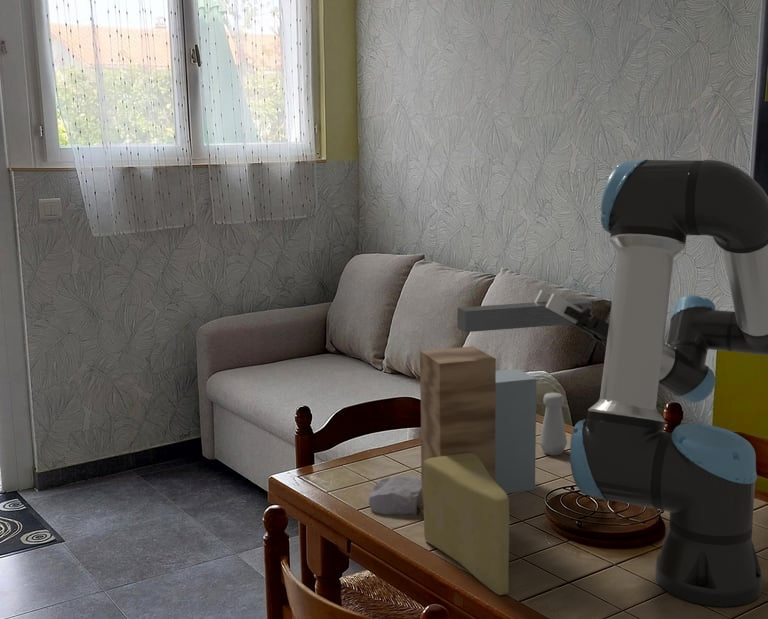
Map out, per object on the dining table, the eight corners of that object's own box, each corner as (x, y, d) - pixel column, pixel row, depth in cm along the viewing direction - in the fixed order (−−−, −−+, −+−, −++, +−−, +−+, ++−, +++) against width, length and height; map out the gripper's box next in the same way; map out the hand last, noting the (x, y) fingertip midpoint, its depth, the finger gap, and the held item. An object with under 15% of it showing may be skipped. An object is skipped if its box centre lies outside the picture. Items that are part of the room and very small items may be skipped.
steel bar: (591, 322, 160) (592, 302, 160) (465, 332, 153) (465, 311, 153) (581, 318, 164) (581, 299, 163) (457, 328, 157) (457, 307, 156)
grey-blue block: (535, 489, 174) (536, 378, 170) (467, 499, 170) (466, 385, 166) (517, 475, 182) (518, 368, 178) (451, 484, 178) (451, 375, 174)
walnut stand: (498, 527, 157) (499, 359, 152) (439, 536, 154) (437, 364, 149) (474, 503, 168) (474, 345, 162) (418, 511, 165) (416, 350, 159)
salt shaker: (570, 450, 195) (572, 392, 193) (560, 458, 191) (562, 399, 188) (545, 446, 199) (546, 388, 196) (534, 454, 194) (535, 395, 191)
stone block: (368, 523, 165) (421, 516, 163) (362, 497, 165) (415, 490, 162) (381, 500, 177) (431, 493, 174) (376, 476, 176) (426, 469, 174)
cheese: (534, 591, 135) (535, 496, 132) (474, 602, 132) (474, 505, 130) (475, 532, 156) (475, 448, 153) (422, 540, 153) (421, 455, 150)
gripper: (659, 383, 159) (556, 326, 151) (609, 361, 175) (513, 309, 167) (679, 345, 159) (577, 286, 151) (627, 327, 174) (532, 273, 166)
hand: (544, 298), depth 159 cm, fingers closed on steel bar, 4 cm apart
